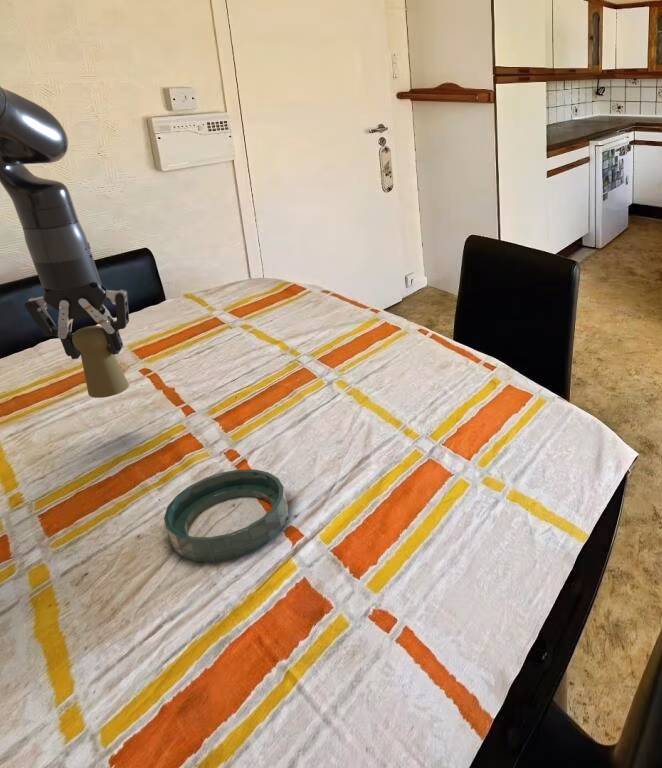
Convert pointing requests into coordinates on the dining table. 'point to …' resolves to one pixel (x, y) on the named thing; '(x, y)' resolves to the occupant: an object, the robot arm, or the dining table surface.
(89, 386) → the cork
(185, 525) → the green faceted band
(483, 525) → the dining table surface
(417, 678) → the dining table surface
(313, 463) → the dining table surface
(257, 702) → the dining table surface
